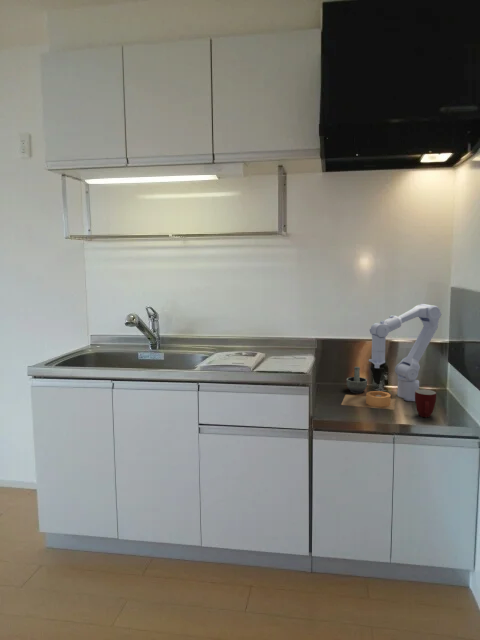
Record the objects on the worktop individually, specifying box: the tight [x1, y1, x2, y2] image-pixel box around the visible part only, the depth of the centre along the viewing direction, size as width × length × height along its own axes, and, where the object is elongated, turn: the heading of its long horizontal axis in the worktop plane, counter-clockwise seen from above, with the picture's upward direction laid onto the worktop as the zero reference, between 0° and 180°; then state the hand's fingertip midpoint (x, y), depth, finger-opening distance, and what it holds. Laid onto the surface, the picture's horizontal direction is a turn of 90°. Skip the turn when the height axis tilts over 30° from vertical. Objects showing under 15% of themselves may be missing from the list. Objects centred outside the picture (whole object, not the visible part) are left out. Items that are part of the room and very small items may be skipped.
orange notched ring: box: [365, 390, 392, 407], centre depth 217 cm, size 10×10×4 cm
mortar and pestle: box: [346, 366, 368, 394], centre depth 236 cm, size 11×9×12 cm
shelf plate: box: [340, 394, 397, 411], centre depth 220 cm, size 22×16×5 cm
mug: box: [414, 388, 437, 418], centre depth 203 cm, size 10×8×10 cm
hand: (377, 380), depth 223 cm, fingers open, 7 cm apart
